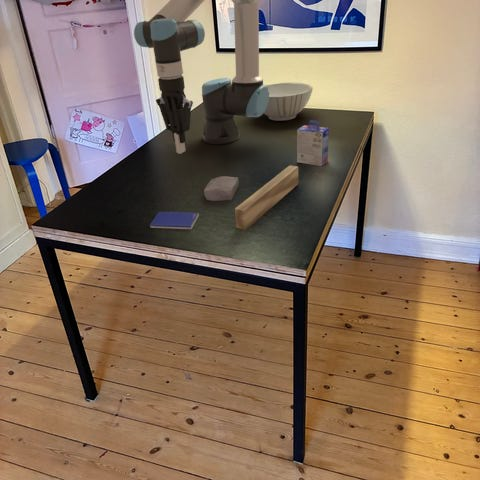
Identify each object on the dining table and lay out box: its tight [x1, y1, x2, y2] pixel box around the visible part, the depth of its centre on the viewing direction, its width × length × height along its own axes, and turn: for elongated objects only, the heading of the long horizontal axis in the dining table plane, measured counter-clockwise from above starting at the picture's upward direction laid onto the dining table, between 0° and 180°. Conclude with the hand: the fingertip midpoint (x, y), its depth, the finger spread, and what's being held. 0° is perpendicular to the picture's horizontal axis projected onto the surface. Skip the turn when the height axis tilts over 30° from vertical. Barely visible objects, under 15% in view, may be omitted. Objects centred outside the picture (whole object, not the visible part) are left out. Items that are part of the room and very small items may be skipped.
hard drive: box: [149, 211, 200, 230], centre depth 140 cm, size 2×8×12 cm
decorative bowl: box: [263, 82, 313, 122], centre depth 210 cm, size 27×27×12 cm
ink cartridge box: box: [296, 119, 330, 167], centre depth 165 cm, size 10×6×14 cm, turn 58°
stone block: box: [203, 175, 240, 202], centre depth 153 cm, size 12×5×10 cm
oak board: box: [234, 164, 299, 231], centre depth 142 cm, size 3×32×6 cm, turn 147°
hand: (181, 151), depth 153 cm, fingers closed
